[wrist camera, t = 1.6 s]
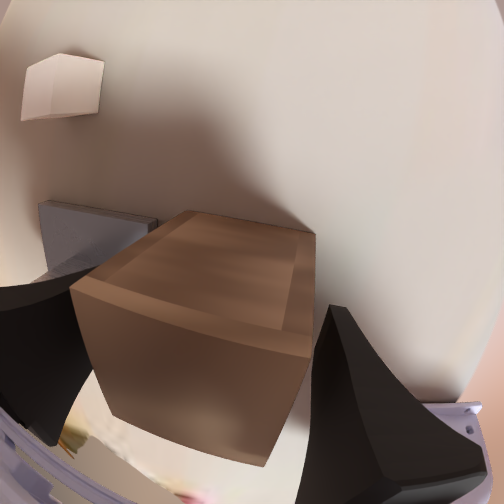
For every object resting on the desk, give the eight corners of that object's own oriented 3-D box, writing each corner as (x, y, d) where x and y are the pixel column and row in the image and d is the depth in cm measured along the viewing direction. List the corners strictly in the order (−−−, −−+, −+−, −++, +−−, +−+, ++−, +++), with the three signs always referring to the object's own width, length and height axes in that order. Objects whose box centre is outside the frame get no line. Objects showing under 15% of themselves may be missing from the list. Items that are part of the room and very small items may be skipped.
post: (157, 218, 12) (59, 278, 6) (163, 353, 15) (113, 427, 10) (47, 200, 13) (-31, 234, 8) (67, 313, 16) (14, 360, 11)
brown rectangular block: (315, 233, 10) (311, 358, 4) (289, 339, 12) (263, 467, 7) (186, 210, 11) (68, 286, 5) (184, 313, 13) (112, 415, 7)
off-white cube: (104, 61, 9) (58, 53, 6) (98, 113, 10) (50, 114, 8) (70, 70, 10) (27, 67, 7) (64, 117, 11) (20, 121, 8)
